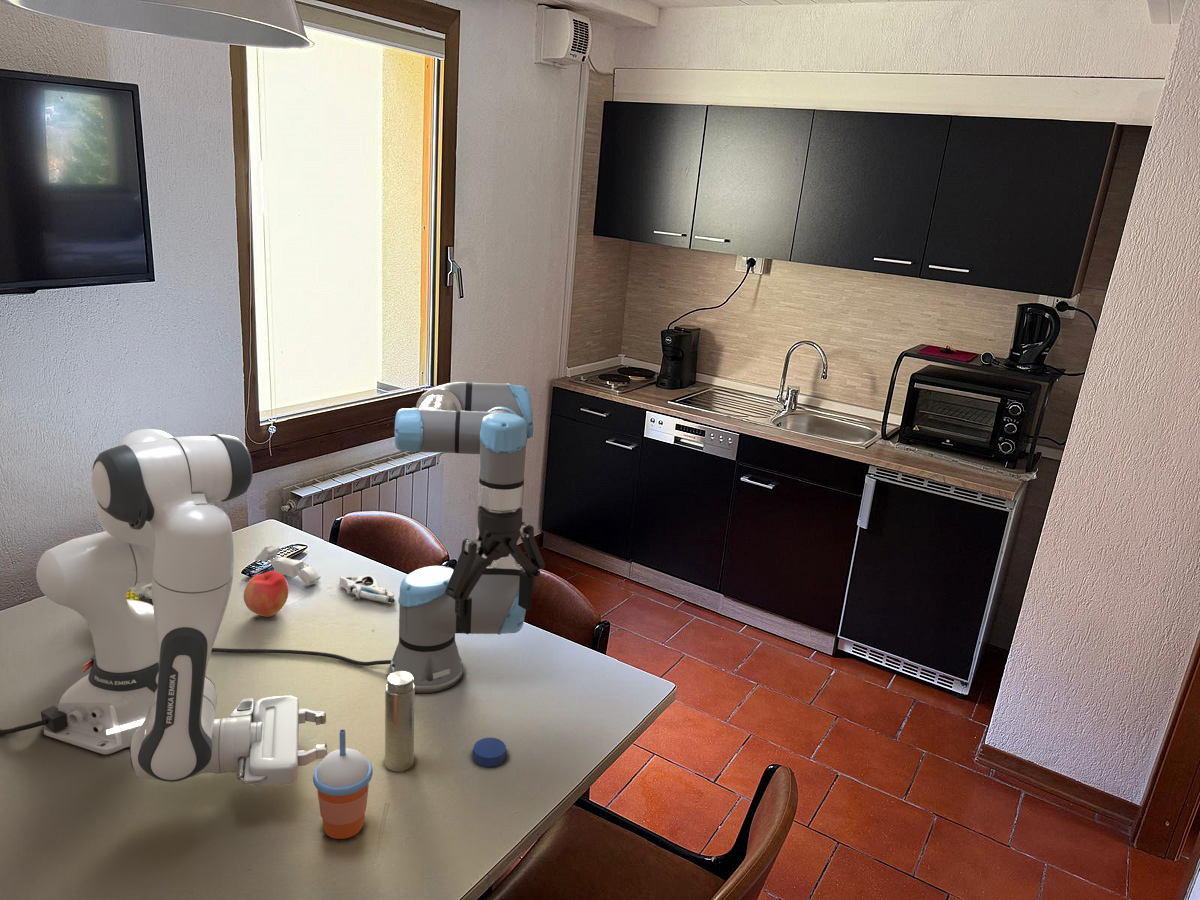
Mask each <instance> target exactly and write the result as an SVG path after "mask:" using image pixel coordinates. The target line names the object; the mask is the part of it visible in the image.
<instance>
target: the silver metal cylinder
mask: <svg viewBox="0 0 1200 900" xmlns="http://www.w3.org/2000/svg"><path fill="white" fill-rule="evenodd" d="M413 682H414V677H413V675H412V674H411V673H409V672H406V671H397V672H393V673H391V674H390V673H389V674H388V676H387V677H386V685H385V686H384V687H385V689H384V693H385V696H384V703H385V704H384V713H385V714H384V733H385V734H384V765H385V768H386V769H387V770H389V771H392V772H396V773H397V772H404V771H407V770H409V769H410V768H412V767H413V765H414V764H415V763H414V762H415V710H416V709H415V704H416V703H415V702H416V701H415V700H416V692H415V685H414V683H413Z"/></svg>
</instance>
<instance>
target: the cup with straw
mask: <svg viewBox="0 0 1200 900" xmlns="http://www.w3.org/2000/svg"><path fill="white" fill-rule="evenodd" d="M346 740H347V739H346V729H344V728H342V729H339V748H337V749H335V750H332V751H331V752H329V753H327V756H325V757H324V758H322V760H321V761H320V762H319V763H318V764H317V765H316V767H315V769H314V771H313V774H312V782H313V785H314V787H315V789H316V791H317V800H318V807H319V812H320V817H321V819H322V825H323V826H322V827H323V830H324V833H325V834H326V836H328V837H330V838H331V839H336V840H344V839H348V838H352V837H354V836H355V835H357V834H358V833H360V831H362V829H363V827H364V823H365V814H366V811H367V806H368V797H369V788H370V787H369V786H370V782H371V780H372V778H373V773H374V771H373V769H374V768H373V766H372V763H371V761H370V760H369V759H368V758H367V757H365V755H364V754H362V753H361V752H360V751H358V750H357V749H354V748H350V747H349V748H348V747H347V745H346V744H347V743H346Z"/></svg>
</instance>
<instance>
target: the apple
mask: <svg viewBox="0 0 1200 900" xmlns="http://www.w3.org/2000/svg"><path fill="white" fill-rule="evenodd" d="M288 597H289V584H288V581H287V579H286V577H285V575H282V574H281V573H278V572H275V571H268V570H267V571H266V572H264V573H259V574H255V575H254V576H253V577H251V578H250V579H249V580H248V582H247V583H246V585H245V587H244V590H243V601H244V604H245V607H247V609H248V610H249V611H250V612H252V613H253V614H255V615H257V616H261V617H265V618H269V617H273V616H275V615H276V614H278V613H279V612H280V611H281V610H282V609H283V607H284V606H285V605H286V603H287V600H288Z"/></svg>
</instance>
